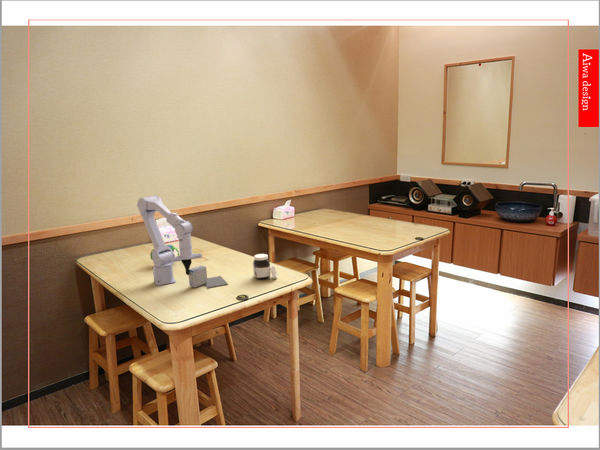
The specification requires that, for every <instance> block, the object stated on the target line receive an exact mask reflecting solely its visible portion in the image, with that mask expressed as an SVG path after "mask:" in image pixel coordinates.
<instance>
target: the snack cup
mask: <svg viewBox="0 0 600 450" xmlns="http://www.w3.org/2000/svg"><path fill="white" fill-rule="evenodd" d="M166 245H167V246H169V247H170V248H171V250H172V251H173V253H174V250H175V251H176V252H177V256H180V250H179V249H178V248H177V247H175V246H174V245H172V244H166ZM154 249H155V248H153V249H152V250H151V252H150V259H151V261H153V257H152V252H153V250H154ZM160 253H162V252H160Z"/></svg>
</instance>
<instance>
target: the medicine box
mask: <svg viewBox="0 0 600 450" xmlns="http://www.w3.org/2000/svg"><path fill="white" fill-rule="evenodd" d="M207 278H208V271H207V266H204V265H202V264H201V265H197V266H194V267H191V268H189V275H188V283H189V287H191V288H197V287H200V286H203V285H205V283H207Z"/></svg>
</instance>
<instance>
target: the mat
mask: <svg viewBox="0 0 600 450" xmlns="http://www.w3.org/2000/svg"><path fill="white" fill-rule="evenodd" d="M204 285H205V286H206V288H207V289H212V288H217V287H222V286H227V285H229V283H228V282H227V281H226V279H224V278H223V277H222V275H218V276H213V277H207V283H205V284H204Z"/></svg>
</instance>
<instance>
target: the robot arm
mask: <svg viewBox="0 0 600 450" xmlns="http://www.w3.org/2000/svg"><path fill="white" fill-rule="evenodd" d="M136 207H137V208H138V211H139V213H140V216H141V218H142V220H143V223H144V226H145V228H146V230H147V233H148V235H149V238H150V240H151V243H152V245H153V249H154V250H153V249H152V250H153V251H152V258H153V260H152V262H153V264H154V265H155V266H152V272H153V282H154V283H155V285H156V286H163V285H164V286H165V285H169V284H173V283H176V282H177V281H176V279H175V278H174V270H173V264H174V263H177V262H181V263H182V265H183V266H184V269H185V275H186V276H189V269H191V268H190V267H191V265H192V263H193V262H192V261H193V260H195V259H203V255H202V253H193V248H192V246H193V245H192V232H193V229H194V227H193V224H192V223H191V222H190V221H188V220H184V219H183V218H182V217H180V216H179V215H178V213H177V212H172V211H170V209H169V208H168V207H166V206H165V204H164V203H163V202H162V198H160V197H159V195H157V194H155V195H150V196H145V197H140V198H138V201H137V204H136ZM157 212H158V213H159V214H160V215H162V216H163V217H164V218H165V220H166V222H167V224H169V225H170V226H171V227H172V228H174V231H175V234H176V236H177V240H178V248H179V249H178V250H179V256H178V255H177V256H176V255H175V253H174V252H173V251H172V250H171V248H170V247H169V246H167V245H168V244H166V243H165V241H164V239H163V235H162V234H161V231H160V228H159V226H158V224H157V221H156V218H155V214H156V213H157ZM160 252H162V253H160Z"/></svg>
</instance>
